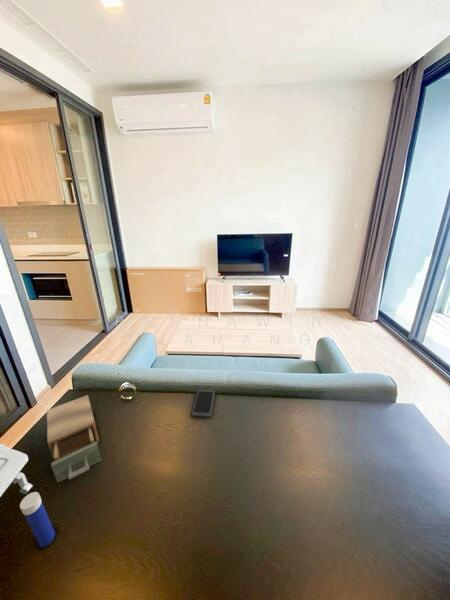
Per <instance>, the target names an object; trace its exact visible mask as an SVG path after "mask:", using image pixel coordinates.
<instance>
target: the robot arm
mask: <svg viewBox="0 0 450 600" xmlns="http://www.w3.org/2000/svg"><path fill="white" fill-rule="evenodd" d="M28 462H29V456H28V454H26V453H24V452H22V451H20V450H16V449H13V448H10V447H8V446H7V445H5V444H4V443H0V498H1V497H2V496H3V495H4V493H5V492H6V491H7V489H8V488H9V487H10V485H11V484H12V483H13V484H14V485H15V484H18V485H19V487H20V489H19V490H18V493H19V494H22V495H23V496H27V495H28V494H29V492H30V491H31V490H32V488H33V486H34V485H33V484H32V483H29V482H28V479H27V477H26V475H25V473H23V472H21V471H22V470H23V468H24V467H25V465H26V464H27V463H28Z"/></svg>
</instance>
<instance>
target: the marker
mask: <svg viewBox="0 0 450 600" xmlns="http://www.w3.org/2000/svg"><path fill="white" fill-rule="evenodd" d="M19 508H20V511H21V512H22V514H23V515H24V517H25V519H26V521H27V523H28V525H29V527H30V529H31V532H32V534H33V536H34V538H35V539H36V542H37V544H38V546H39V547H41V548H45V547H47V546H49V545H50V544H51V543H52V541H53V540H54V539H55V536H56V531H55V529H54V527H53V524H52V522H51V520H50V518H49V516H48V513H47V510H46V508H45V506H44V504H43V501H42V497H41V495H40V493H39V492H37V491H33V492H30V493H27V494H26V495H25V496H24V497H23V498H22V500H21V501H20V504H19Z"/></svg>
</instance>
